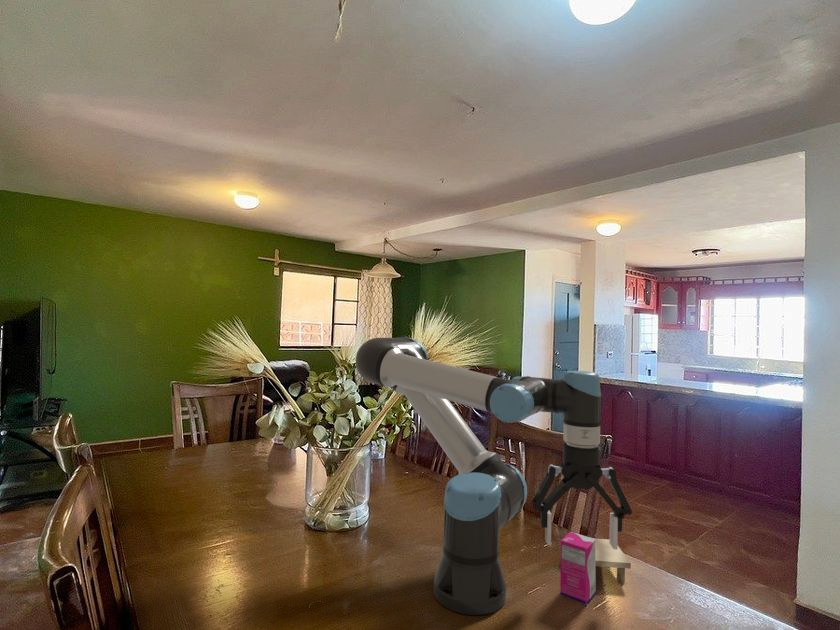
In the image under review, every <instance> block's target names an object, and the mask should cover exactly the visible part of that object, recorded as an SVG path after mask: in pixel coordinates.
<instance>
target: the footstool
mask: <svg viewBox="0 0 840 630" xmlns="http://www.w3.org/2000/svg"><path fill="white" fill-rule="evenodd" d="M594 539H595V560H596V561H595V567H604V568H616V582H617V583H618V584H621V585H623V584H626V583H625V582H626V581H625V580H626V569H627V570H628V569H629V570H630V569H631V568H632V567H631V566H632V564H631V562H630V560H629V558H628V556H626V555H625V553H624V552H623V551H622V548H620V546H618V549H613V547H612V546H611V545H610V543H609V538H608V539H607V538H594Z"/></svg>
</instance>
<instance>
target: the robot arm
mask: <svg viewBox="0 0 840 630" xmlns="http://www.w3.org/2000/svg"><path fill="white" fill-rule="evenodd" d="M428 358H429V355H428V351H427V349H426V348H425V347H424V345H423V344H422V343H421V342H419V340H417V339H415V338H410V337H406V336H398V337H374V338H371V339H369V340H366V341H365V342H363V344H361V346H360V347H359V348H358V350H357V352H356V355H355V367H356V370H357V372H358V374H359V375H360V376H361V378H362V379H364V380H365V381H366V382H369V383H370V384H371V383H372V384H374V385H375V384H376V385H378V386H383V387H385V388H391V389H393V391H394V392H395V394H397V395H401V396H405V398H406V399H407V401H408V402H409V403H410V405H411V406H412V408H413V409H414V411H415V412H416V413H417V415H418V416H419V418H420V419H421V420H422V422H423V423H424V425H425V426H426V428H427V429H428V430H429V432H430V433H431V435H432V436H433V438H434V439H435V440H436V441H437V444H439V446H440V447H441V449H442V450H443V452H444V453H445V454H446V456H447V457H448V459H449V460H450V461H451V463H452V465H453V466H454V467H455V469H456V470H457V472H458V474H456V475H455V476H453V477H451V478H450V479H449V480H448V482H447V483H446V486H445V490H444V491H445V492H444V496H443V535H442V539H443V540H442V541H443V545H442V548H443V549H442V555H441V558H440V560H439V564H438V566H437V569H436V572H435V574H434V576H433V577H434V578H433V594H434V597H435V600H437V601H438V602H439V603H440V605H442V606H444V607H445V608H447V610H451V611H453V612H456V613H457V614H458V613H459V614H462V615H467V616H468V615H470V616H483V615H488V614H493V613H494V612H497V611H498V610H500V609H501V608H502V607H503V606H504V605H505V603H506V600H507V584H506V581H505V577H504V574H503V570H502V566H501V563H500V559H499V550H500V549H499V546H500V531H501V529H502V528H503V527H504V526H505V525H506V524H507V523H508V522H510V521H511V520H512V519H513V518H515V517H516V516H517V515H518V514H519V513H520V511H522V509H523V507H524V505H525V503H526V501H527V498H528V497H527V496H528V486H527V482H526V480H525V477H524V476H523V474H522V473H521V471H520V470H518V468H517V467H515V466H513V465H512V464H509V463H505V462H504V461H503V460H502V459H501V457H500V456H499V454H498V453H497V452H494V451H488V450H487V449H486V448H485V446H484V445H483V444H482V443H481V441H480V440H479V439H478V437H477V435H475V433H474V432H473V431H472V429H471V428H470V427H469V425H468V424H467V422H466V421H465V420H464V418H463V417H462V415H460V413H459V412H458V410H457V409H456V408H455V406H454V405H453V403H456V404H458V405H459V404H460V405H463V406H467V407H471V408H474V409H477V410H481V411H484V412H488V413H491V414H493V415H494V416H495V418H496V419H498V420H500V421H501V422H504V423H507V424H508V423H511V424H512V423H519V422H522V421H524V420H525V419H527V418H529V417H530V416H531V417H532V416H533V415H534V414H537V413H550V414H552V413H553V414H561V415H563V416H562V417H563V421H562V423H563V427H562V428H563V429H562V431H563V432H562V433H563V434H562V437H563V438H562V441H564V443H563V444H562V465H561V466H560V465H559V466H558V465H553V464H552V463H548V464H547V469H546V475H545V476H544V478H543V480H542V482H541V484H540V485H539V487H538V489H537V491H536V493H535V495H534V497H533V499H532V501H531V504H532V507H533V509H534V510H536V511H540V514H539V515H540V516H539V517H540V519H539V520H540V522H539V523H540V525H541V527H542V528H544V540H545V543H546V545H547V546H552V513H551V509H552V508H553V507H554V506H555V504H557V502H558V501H560V499H561V498H562V497H563V496H564V495H565V494H566V492H568V491H569V490H570V489H571V488H573V489H575V490H581V489H583V490H588V491H589V490H591V489H592V488H594V489H595V490H596V491H597V492H598V494H599V496H601V498H602V499H603V500H604V501H605V503H606V504H607V505H608V506H609V508H610V509H611V510H612V511H613V512H609V535H608V536H609V538H608V540H609V543H610V545H611V546H612V547H613V549H618V547H619V545H618V536H619V535H618V534H619V533H622V531H623V519H625V516H626V515H628V516H630V515H632V513H633V511H632V509H631V506H630V504H629V502H628V500H627V498H626V496H625V494H624V492H623V490H622V488H621V485H620V484H619V482H618V479H617V471H616V470H615V469H614V468H613V467H612V466H611V465H610V466H609V465H608V466H607V467H606V468H605V467H604V468H602V467H601V448H600V446H599V445H600V444H601V407H602V392H601V379H600V378H601V377H600V375H599V374H598V373H596V372H594V371H588V370H587V371H586V370H567V371H565V372H564V374H563V378H561V379H559V378H556V379H555V378H554V379H553V378H546V377H545V378H544V377H532V376H530V375H526V376H514V377H512V378H511V380H510V379H506V378H502V377H498V376H495V375H490V374H486V373H482V372H477V371H473V370H470V369H466V368H462V367H457V366H452V365H449V364H445V363H440V362H437V361H434V360H428ZM451 402H453V403H451ZM560 473H561V475H562V476H563V478H562V479H560V481H559V483H558V485H557V486H555V488H554V489H553V490H552V491H551V493H549V494H548V492H549V491H550V488H551V487H552V484H553V483H554V481H555V478H556V477H558V476H559V474H560ZM602 476H604V477H605V479H607V480H608V482H609V484H610V486H611V488H612V490H613V492H614V495H615V496H616V498H617V501H618V502H619V505H620V506H619V507H618V505H617V504H616V503H615V502H614V500H613V499H612V497H610V495H609V494H608V493H607V492H606V491H605V489H604V488H603V487H602V486H601V484H600V483H599V482H598V481H599V480H600V479H601V478H602ZM547 494H548V495H547Z"/></svg>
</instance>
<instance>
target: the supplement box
mask: <svg viewBox="0 0 840 630" xmlns="http://www.w3.org/2000/svg"><path fill="white" fill-rule="evenodd" d="M595 539H596V538H593V537H589V536H586V535H583V534H580V533H576V532H573V531H569V532H568V533H567V534H566V535H565V536H564V537H563V538H562V539H560V595H562V596H565V597H567V598H570V599H571V600H573V601H574V600H575V601H576V602H579V603H582V604H584V605H588V604H589V603H590V602H591V600H592V598H593V597H594V596H595V595H596V591H597V590H596V589H597V588H596V586H597V585H596V567H597V566H595V561H596V560H595Z"/></svg>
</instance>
